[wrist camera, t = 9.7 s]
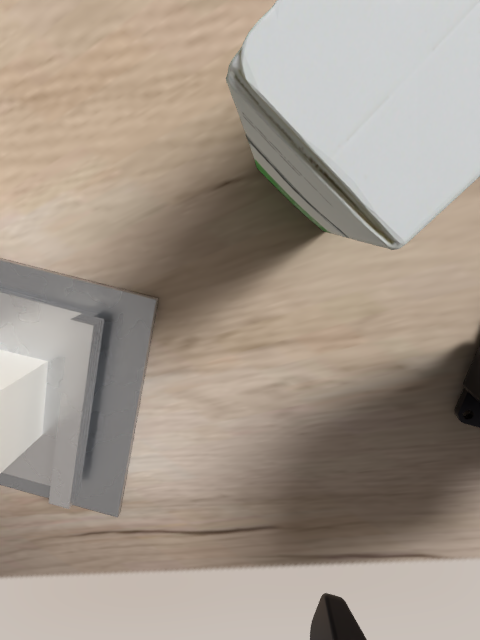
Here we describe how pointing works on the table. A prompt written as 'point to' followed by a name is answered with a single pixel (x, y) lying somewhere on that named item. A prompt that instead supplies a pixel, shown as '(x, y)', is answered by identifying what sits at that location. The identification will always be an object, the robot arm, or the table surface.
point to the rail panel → (78, 381)
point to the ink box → (364, 110)
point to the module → (20, 404)
